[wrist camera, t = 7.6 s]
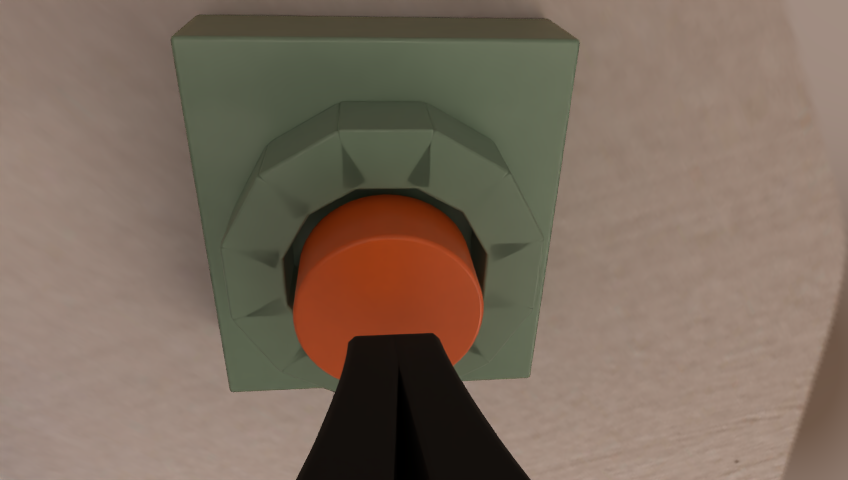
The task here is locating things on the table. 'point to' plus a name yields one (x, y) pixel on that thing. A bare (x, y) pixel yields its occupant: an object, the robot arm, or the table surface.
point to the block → (372, 162)
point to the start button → (385, 279)
